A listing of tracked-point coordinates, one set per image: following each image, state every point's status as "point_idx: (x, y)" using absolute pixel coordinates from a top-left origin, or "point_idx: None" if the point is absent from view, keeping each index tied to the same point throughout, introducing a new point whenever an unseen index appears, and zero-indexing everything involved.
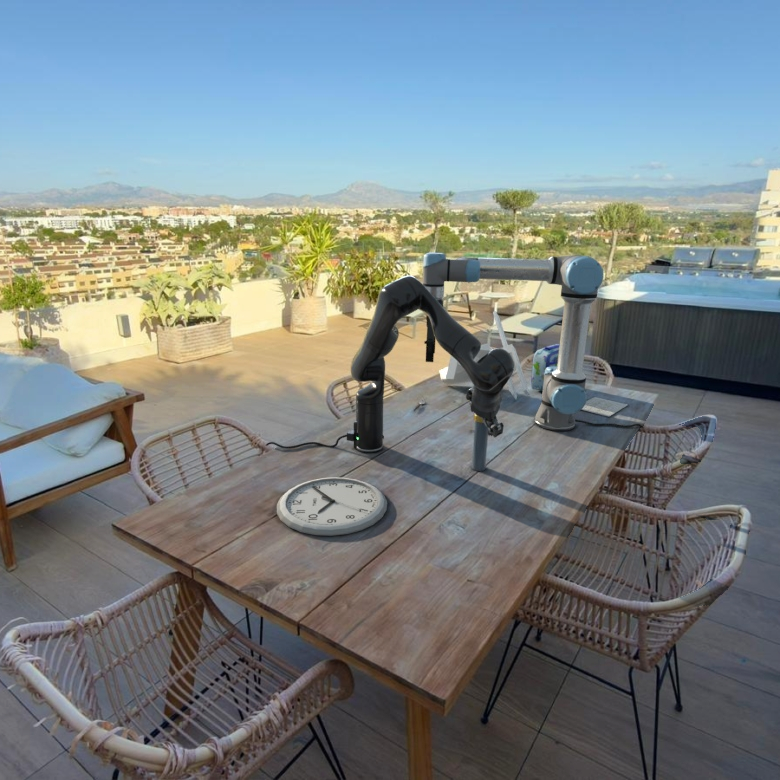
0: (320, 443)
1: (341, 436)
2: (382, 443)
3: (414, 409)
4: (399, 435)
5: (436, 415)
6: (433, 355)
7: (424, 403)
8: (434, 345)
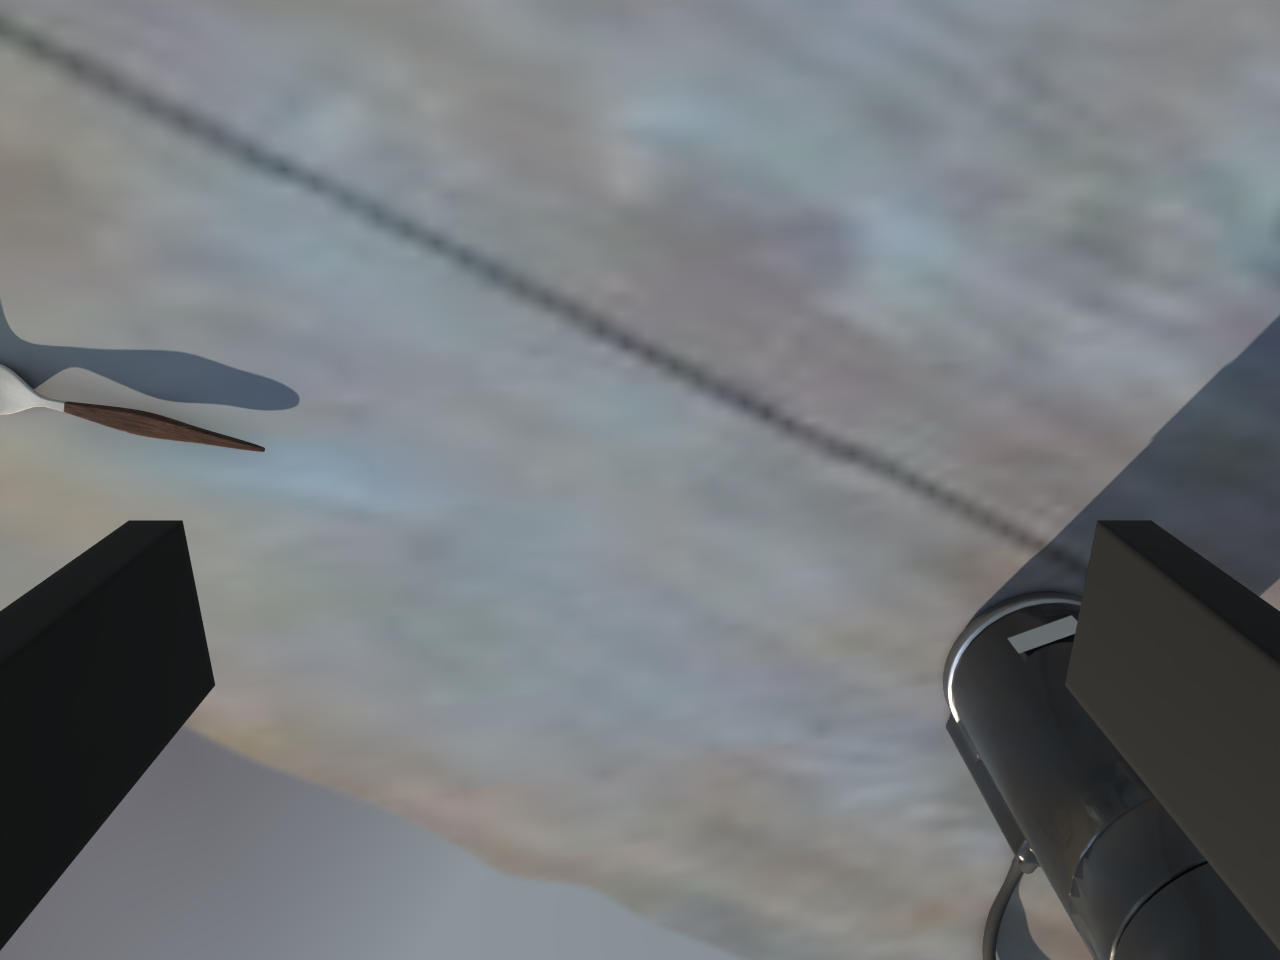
0: (995, 926)
1: (1036, 867)
2: (1073, 611)
3: (231, 445)
4: (798, 507)
5: (277, 238)
6: (1270, 605)
7: (4, 366)
8: (49, 646)
